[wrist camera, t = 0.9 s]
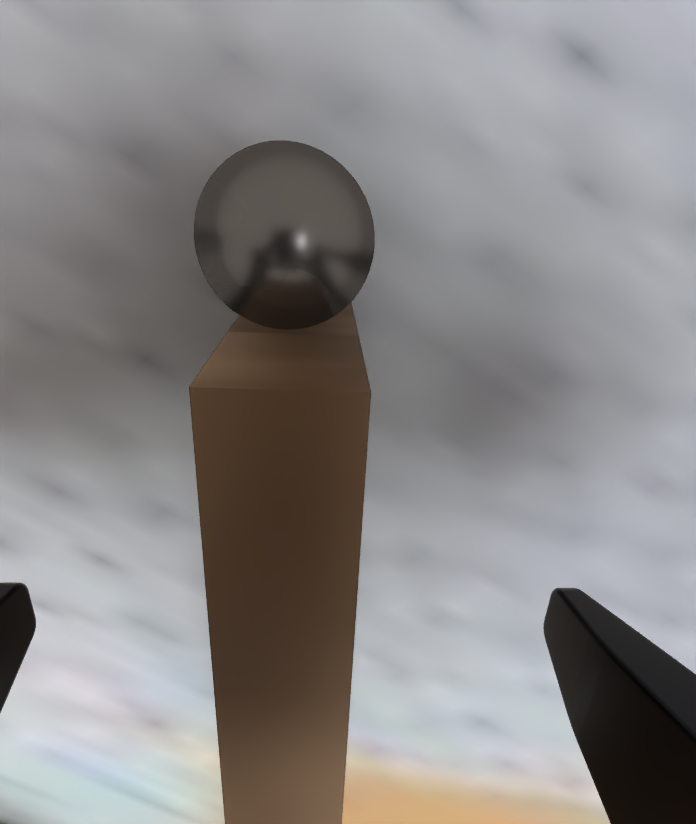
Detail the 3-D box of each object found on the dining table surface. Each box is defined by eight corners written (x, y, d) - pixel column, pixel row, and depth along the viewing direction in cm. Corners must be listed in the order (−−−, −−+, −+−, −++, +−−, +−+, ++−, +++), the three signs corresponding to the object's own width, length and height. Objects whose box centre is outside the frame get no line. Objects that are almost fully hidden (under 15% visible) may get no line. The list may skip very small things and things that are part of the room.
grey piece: (349, 171, 13) (380, 145, 5) (324, 751, 21) (324, 1044, 14) (268, 167, 13) (186, 135, 5) (276, 752, 21) (250, 1048, 14)
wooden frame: (346, 278, 13) (371, 392, 6) (326, 727, 20) (326, 1044, 12) (266, 275, 13) (190, 387, 6) (274, 728, 20) (243, 1047, 12)
